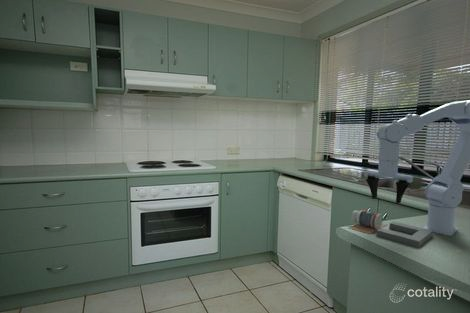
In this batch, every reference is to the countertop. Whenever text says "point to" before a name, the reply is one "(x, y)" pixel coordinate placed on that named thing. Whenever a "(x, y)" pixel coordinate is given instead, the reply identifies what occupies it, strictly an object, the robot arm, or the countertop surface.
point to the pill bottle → (367, 218)
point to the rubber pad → (365, 228)
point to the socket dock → (415, 240)
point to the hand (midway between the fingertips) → (386, 200)
